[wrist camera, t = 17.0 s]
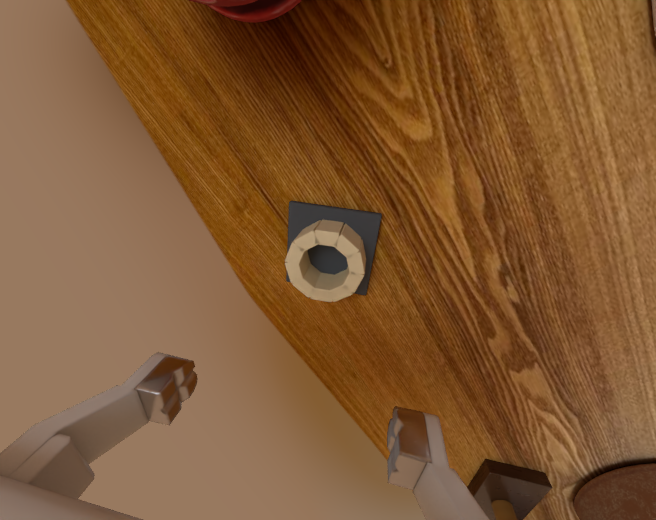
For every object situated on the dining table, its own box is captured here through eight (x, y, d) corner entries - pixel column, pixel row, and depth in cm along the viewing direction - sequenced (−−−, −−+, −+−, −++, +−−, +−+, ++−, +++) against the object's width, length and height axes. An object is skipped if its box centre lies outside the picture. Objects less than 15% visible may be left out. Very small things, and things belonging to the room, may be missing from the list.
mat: (291, 200, 23) (289, 202, 22) (381, 213, 22) (381, 215, 21) (288, 278, 26) (286, 281, 26) (366, 292, 25) (366, 295, 25)
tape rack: (485, 458, 32) (507, 521, 27) (545, 473, 32) (579, 540, 26) (455, 505, 38) (468, 566, 32) (506, 518, 37) (528, 582, 32)
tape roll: (295, 215, 23) (285, 225, 20) (371, 225, 22) (370, 237, 19) (293, 278, 25) (284, 294, 23) (360, 289, 25) (358, 307, 22)
